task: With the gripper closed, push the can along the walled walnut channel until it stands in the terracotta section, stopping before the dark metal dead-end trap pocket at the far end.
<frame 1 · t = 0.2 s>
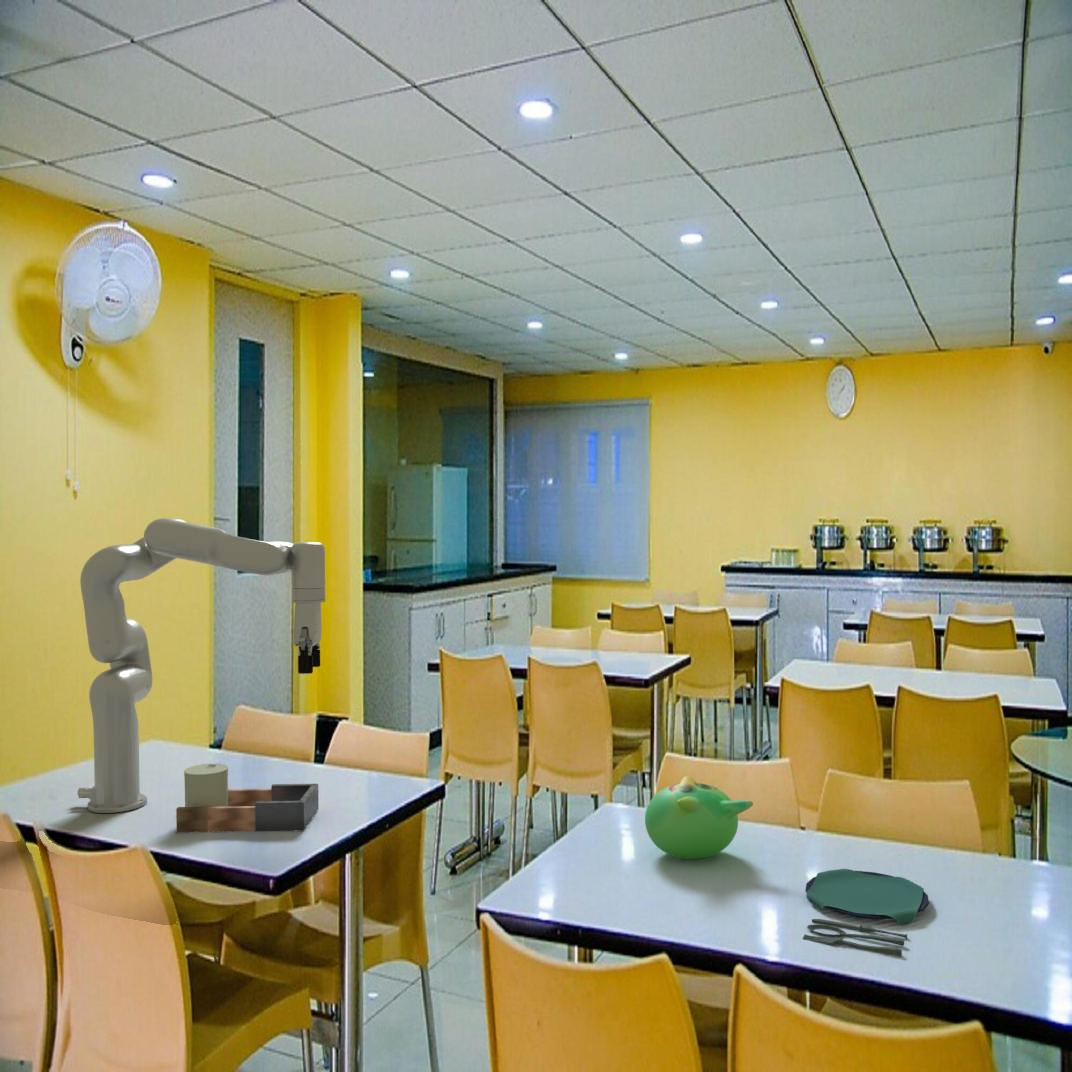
hand: (309, 670, 221), 31 cm above the table, tool pointing down, fingers open, 9 cm apart
cutlery set: (861, 915, 159), on the table
toy bird: (693, 857, 185), on the table
channel: (246, 820, 209), on the table
trap pocket: (287, 806, 210), on the table
can: (206, 822, 209), on the table
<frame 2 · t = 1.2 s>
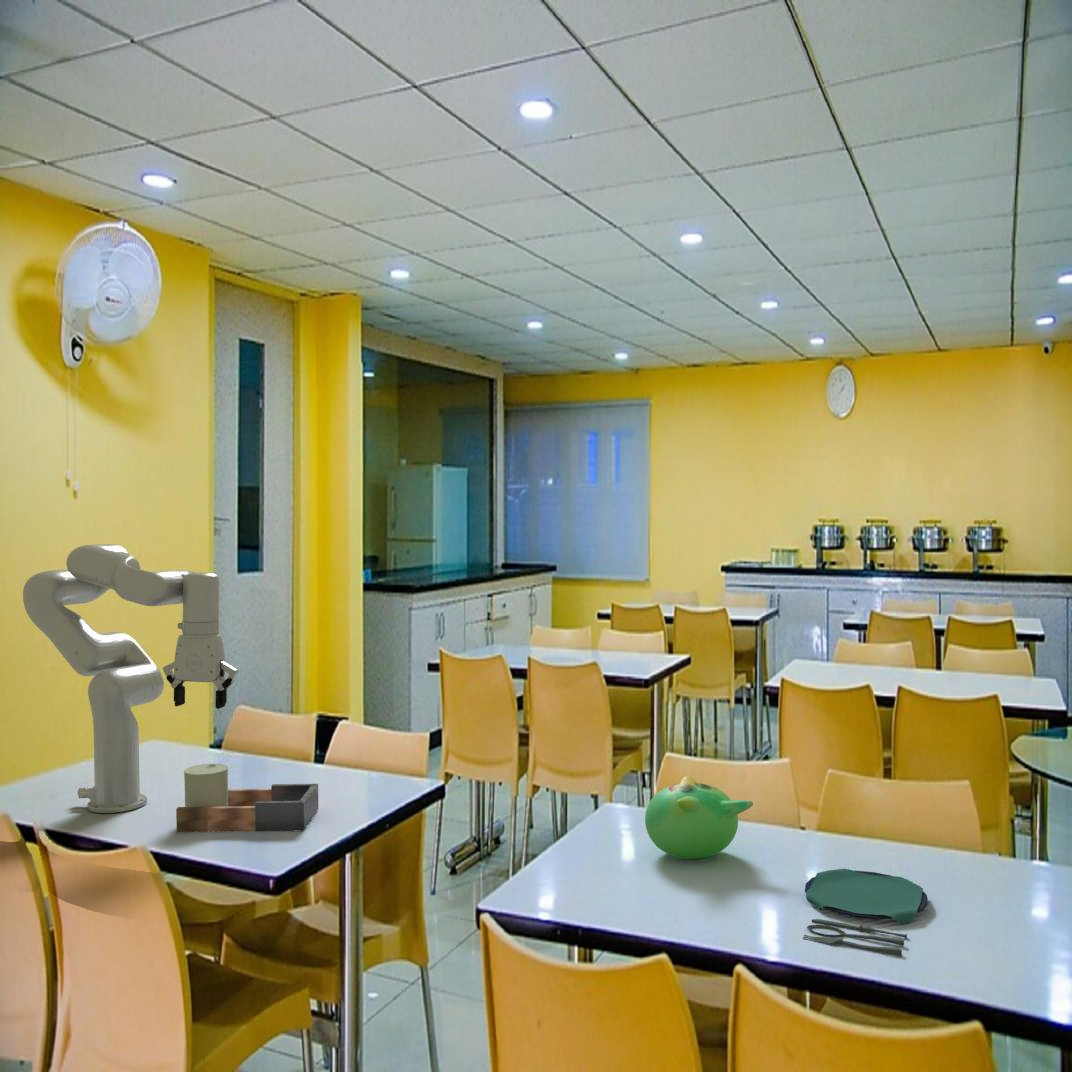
hand: (200, 706, 212), 25 cm above the table, tool pointing down, fingers open, 9 cm apart
nothing on the table moved.
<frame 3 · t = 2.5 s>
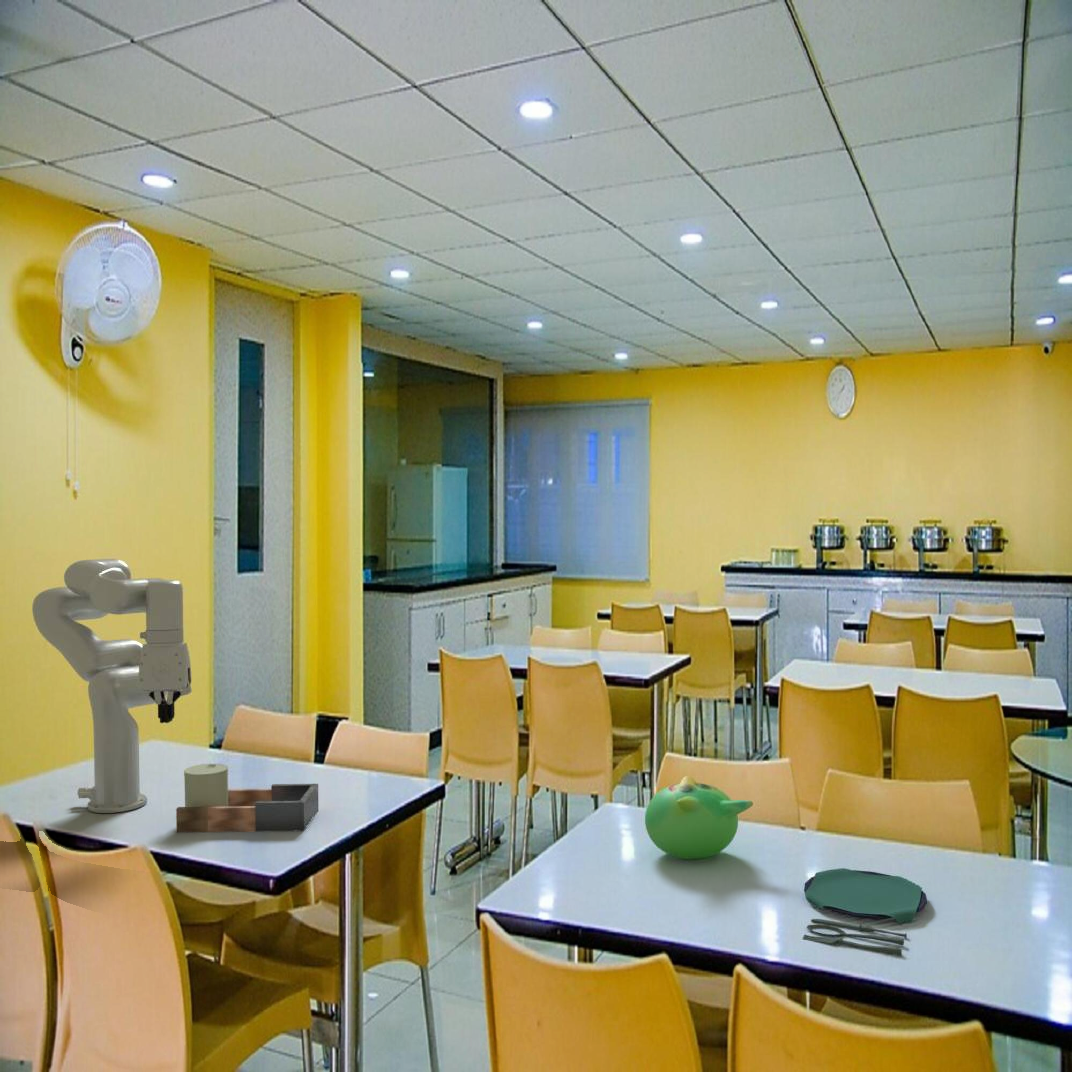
hand: (166, 721, 209), 22 cm above the table, tool pointing down, fingers closed
nothing on the table moved.
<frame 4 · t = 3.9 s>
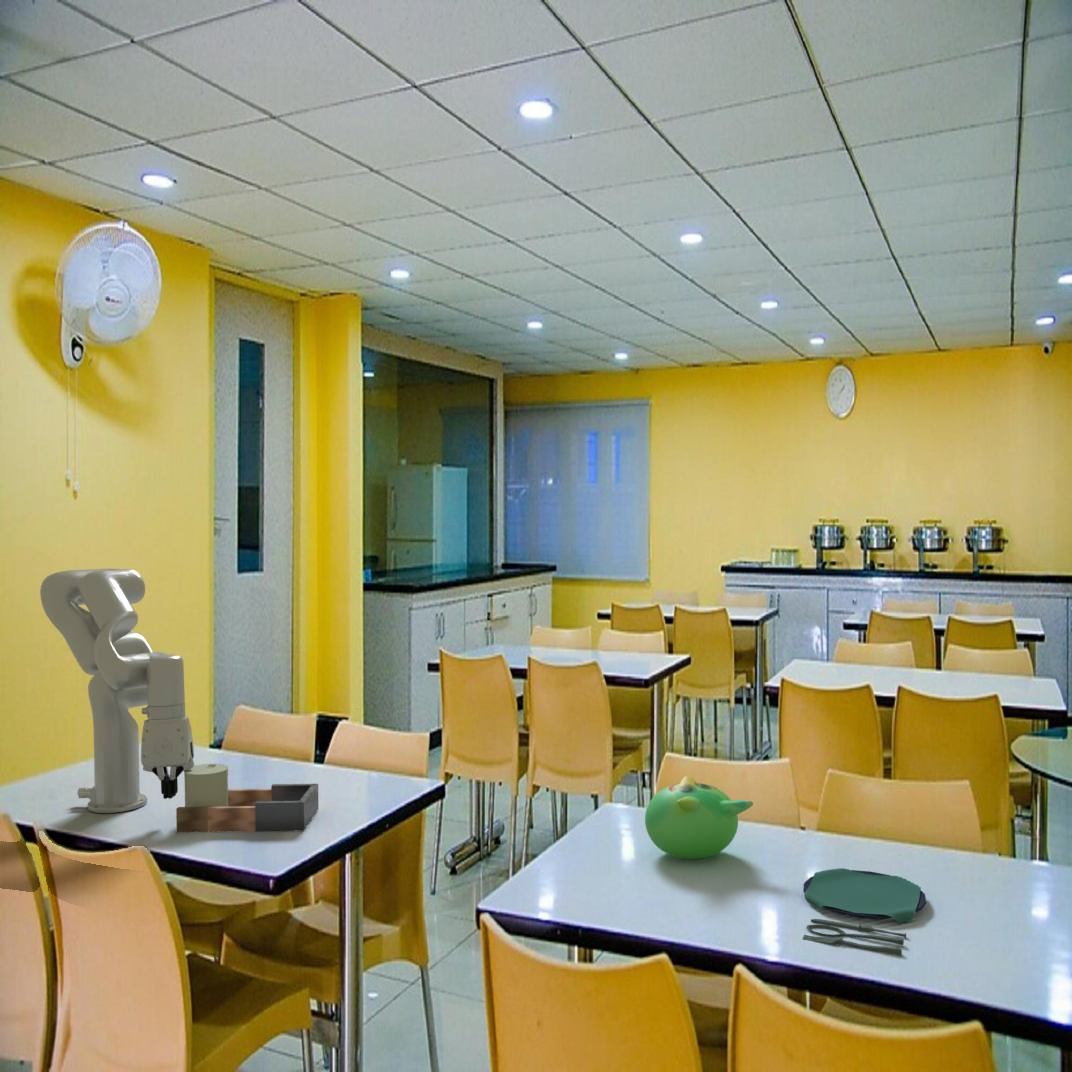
hand: (169, 796, 209), 6 cm above the table, tool pointing down, fingers closed
nothing on the table moved.
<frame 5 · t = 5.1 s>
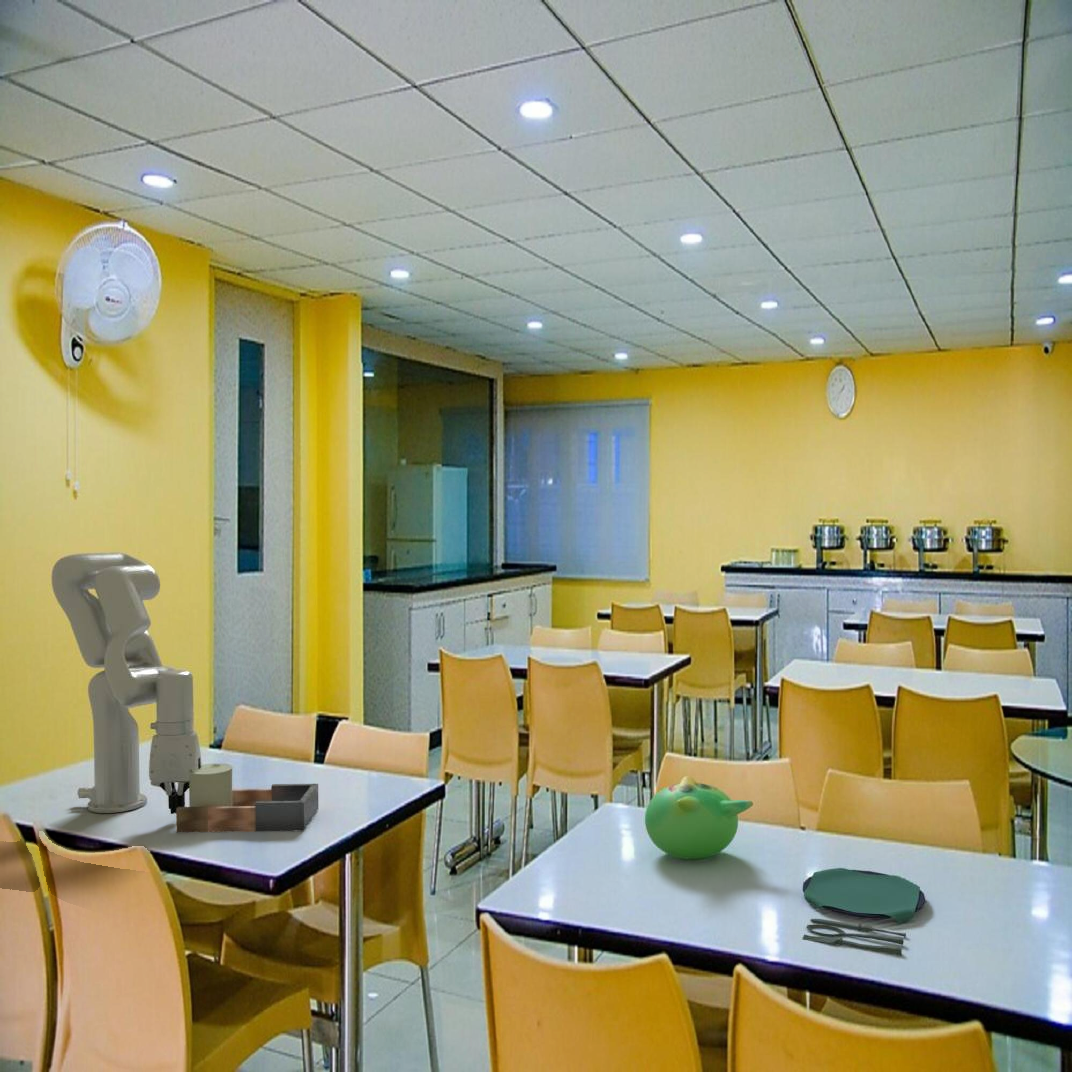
hand: (176, 811, 209), 2 cm above the table, tool pointing down, fingers closed
can: (211, 822, 209), on the table, touching gripper
everything else where it was.
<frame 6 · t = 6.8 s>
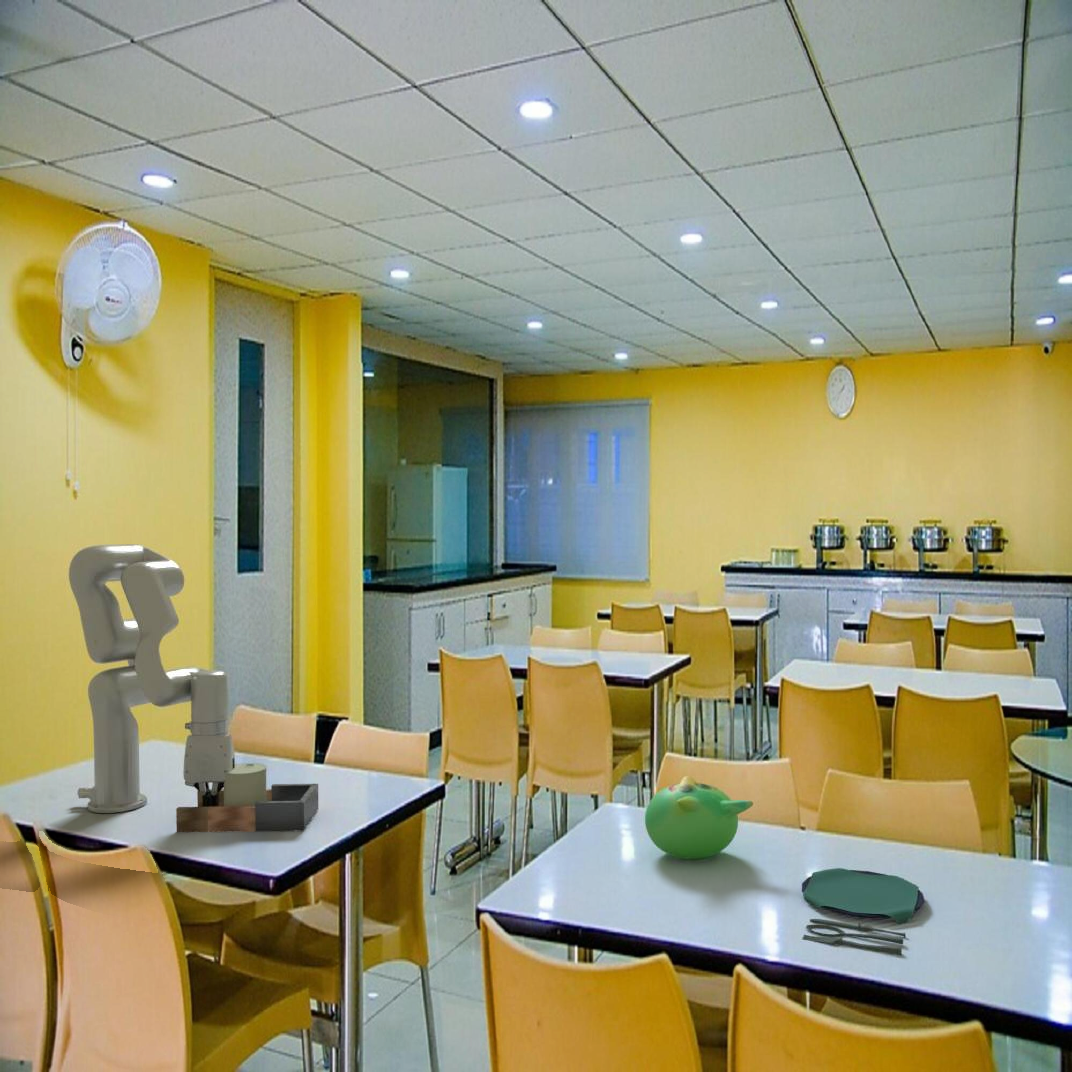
hand: (210, 811, 209), 2 cm above the table, tool pointing down, fingers closed
can: (245, 821, 210), on the table, touching gripper
everything else where it was.
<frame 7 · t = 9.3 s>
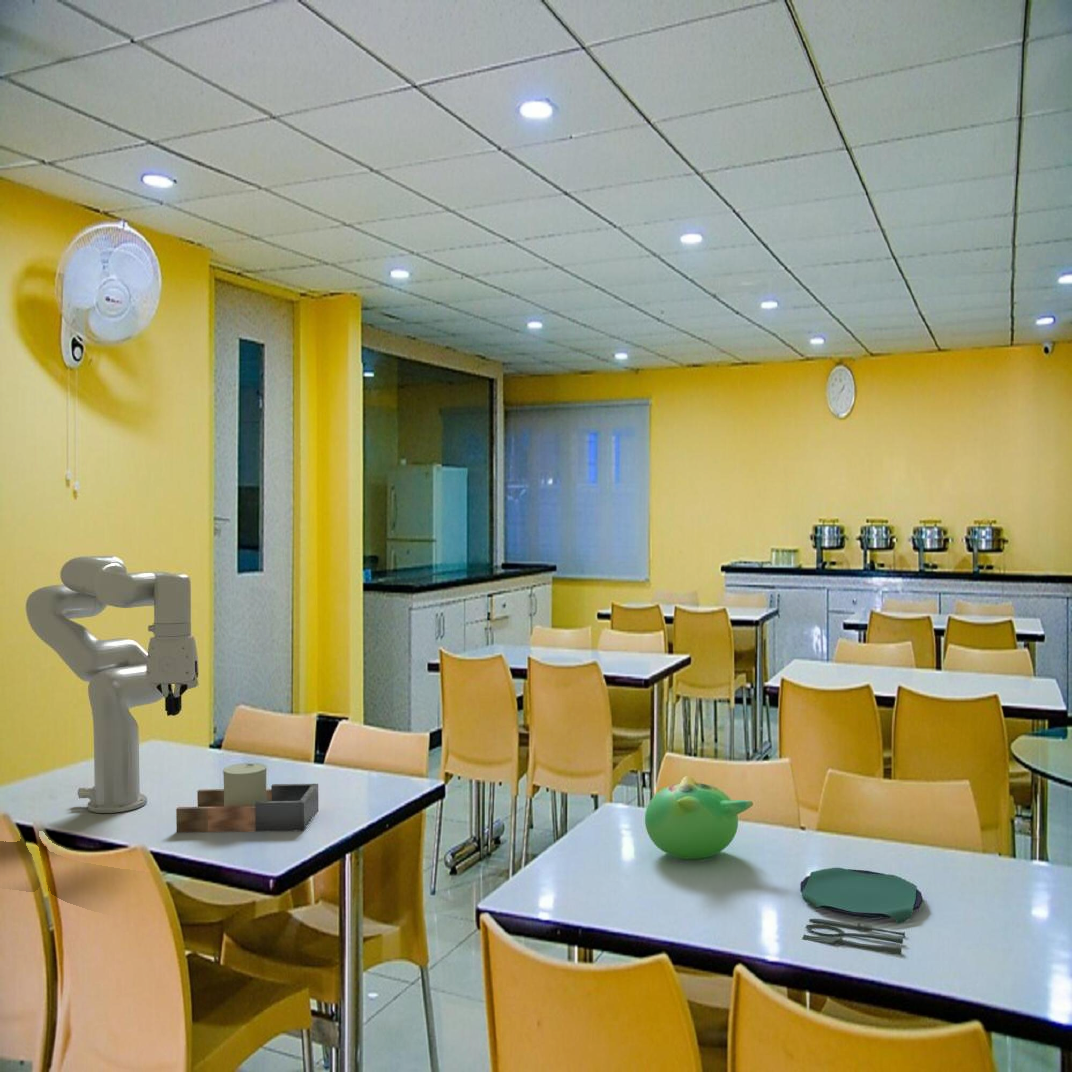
hand: (173, 714, 210), 23 cm above the table, tool pointing down, fingers closed
can: (245, 821, 210), on the table
everything else where it was.
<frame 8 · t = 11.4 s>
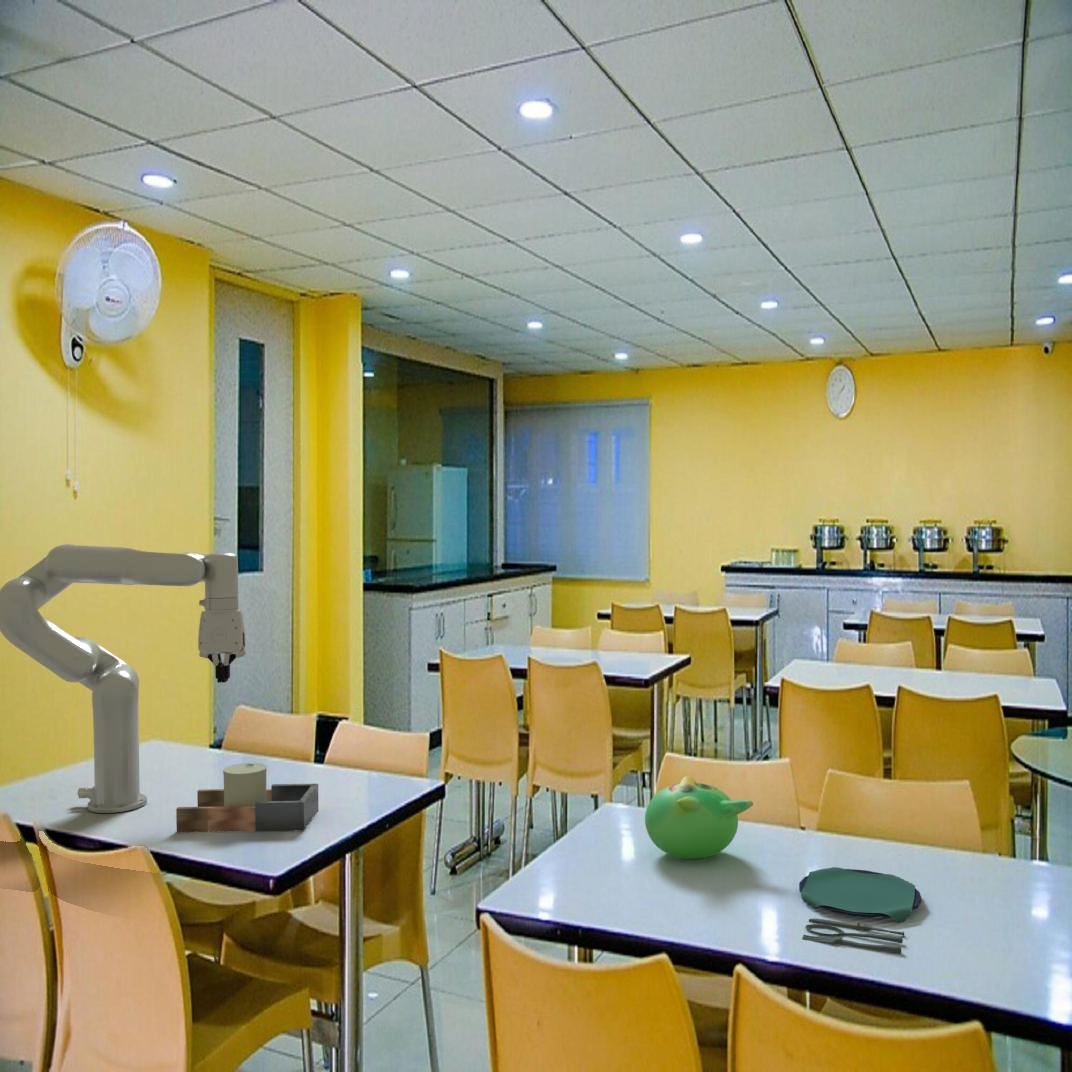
hand: (222, 681, 229), 27 cm above the table, tool pointing down, fingers closed
nothing on the table moved.
at the end: can inside the target area (2.1 cm from its centre), on the table; can tilted 0°; can moved 8.4 cm from its start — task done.
